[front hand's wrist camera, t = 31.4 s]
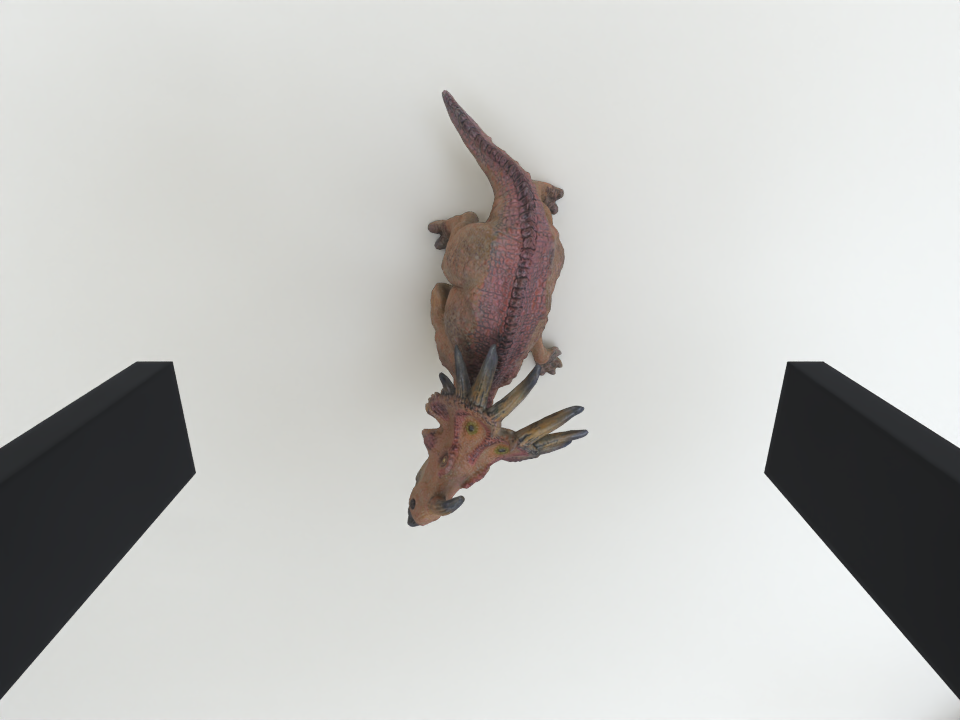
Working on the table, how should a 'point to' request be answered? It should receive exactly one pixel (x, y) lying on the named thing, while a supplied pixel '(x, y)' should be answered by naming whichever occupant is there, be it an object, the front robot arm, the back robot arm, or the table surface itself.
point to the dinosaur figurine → (490, 329)
